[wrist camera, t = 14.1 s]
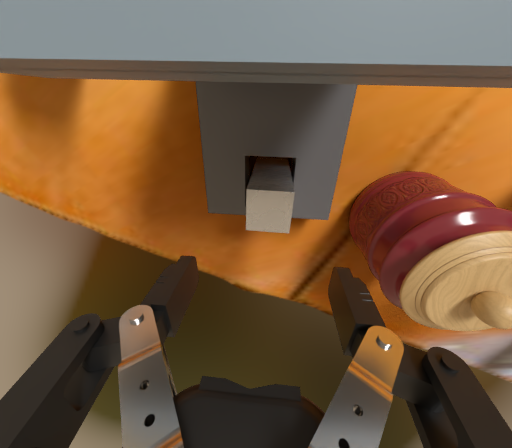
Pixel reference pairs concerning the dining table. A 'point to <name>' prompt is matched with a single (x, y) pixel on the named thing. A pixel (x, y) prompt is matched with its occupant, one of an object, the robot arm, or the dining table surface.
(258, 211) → the peg
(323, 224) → the dining table surface
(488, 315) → the canister
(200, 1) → the coffee dispenser stand
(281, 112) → the socket
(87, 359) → the robot arm
